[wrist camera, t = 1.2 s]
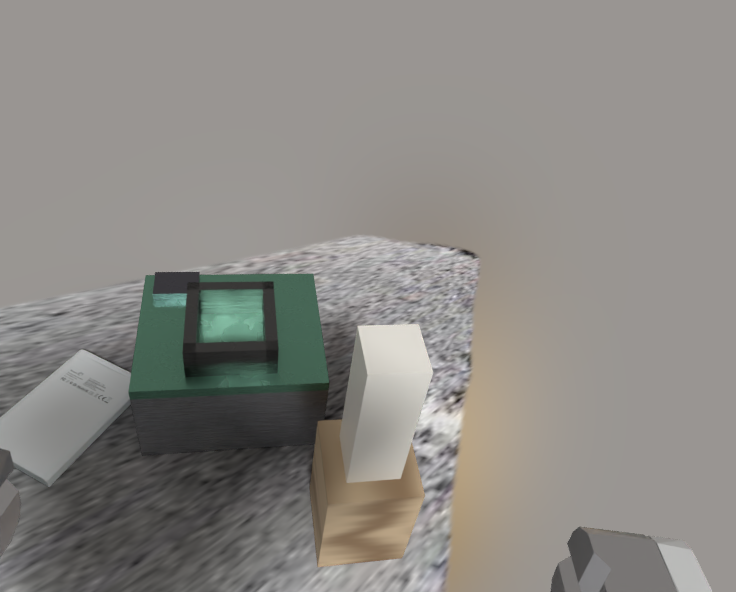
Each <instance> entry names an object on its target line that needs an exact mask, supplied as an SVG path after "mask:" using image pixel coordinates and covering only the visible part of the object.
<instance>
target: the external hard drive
mask: <svg viewBox="0 0 736 592" xmlns="http://www.w3.org/2000/svg"><path fill="white" fill-rule="evenodd" d="M130 378H131V373H130V372H128V371H126V370H124V369H122V368H120V367H118V366H116V365H114V364H112V363H110V362H108V361H106V360H104V359H102V358H100V357H98V356H96V355H94V354H92V353H90V352H88V351H86V350H82V349H81V350H80V351H78V352H77V353H76V354H75V355H74V356H73V357H71V358H70V359H69V360H68V361H67V362H65V363H64V364H63V365H62V366H61V367H59V368H58V369H57V370H56V371H55V372H53V373H52V374H51V375H50V376H49V377H47V378H46V379H45V380H44V381H43V382H42V383H40V384H39V385H38V386H37V387H36V388H34V389H33V390H32V391H31V392H30V393H29V394H27V395H26V396H25V397H24V398H23V399H21V400H20V401H19V402H18V403H17V404H15V405H14V406H13V407H12V408H11V409H9V410H8V411H7V412H6V413H5V414H4V415H2V416H1V417H0V448H1V449H5V450H8V451H10V453H11V457H12V461H13V465H14V467H15V468H16V469H18V470H20V471H22V472H23V473H25V474H27V475H29V476H31V477H32V478H34V479H36V480H38V481H39V482H41V483H43V484H45V485H46V486H48V487H50V486H51V485H52V484H53V483H54V482H55V481H56V480H57V479H58V478H59V477H60V476H61V475H62V474H63V473H64V472H65V471H66V470H67V469H68V468H69V467H70V466H71V464H72V463H73V462H74V461H75V460H76V459H77V458H78V457H79V456H80V455H81V454H82V453H83V452H84V451H85V450H86V449H87V448H88V447H89V446H90V445H91V444H92V443H93V442H94V441H95V440H96V439H97V438H98V437H99V436H100V435H101V434H102V433H103V432H104V431H105V430H106V429H107V428H108V427H109V426H110V425H111V424H112V423H113V422H114V421H115V420H116V419H117V418H118V417H119V416H120V415H121V414H122V413H123V412H124V411H125V410H126V409H127V408H128V407H129V406H130V405H131V402H130V397H129V393H128V391H129V384H130Z"/></svg>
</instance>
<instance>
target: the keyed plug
mask: <svg viewBox="0 0 736 592" xmlns="http://www.w3.org/2000/svg"><path fill="white" fill-rule="evenodd" d="M432 374H433V370H432V367H431V363H430V360H429V357H428V354H427V350H426V347H425V344H424V341H423V337H422V334H421V331H420V327H419V324H410V325H373V326H357V333H356V339H355V345H354V351H353V357H352V363H351V369H350V375H349V381H348V387H347V393H346V399H345V405H344V411H343V417H342V423H341V429H340V435H339V437H340V443H341V450H342V457H343V463H344V470H345V477H346V483H354V482H366V481H379V480H392V479H401V476H402V472H403V469H404V466H405V463H406V459H407V456H408V453H409V450H410V446H411V443H412V440H413V436H414V433H415V430H416V427H417V423H418V420H419V417H420V414H421V410H422V407H423V404H424V400H425V397H426V394H427V391H428V387H429V384H430V381H431V377H432Z"/></svg>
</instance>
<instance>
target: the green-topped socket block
mask: <svg viewBox="0 0 736 592" xmlns="http://www.w3.org/2000/svg"><path fill="white" fill-rule="evenodd" d="M328 388H329V378H328V371H327V364H326V357H325V351H324V344H323V337H322V330H321V323H320V317H319V310H318V303H317V296H316V289H315V283H314V276H313V274H239V275H200V273H199V272H156V273H155V275H146V277H145V284H144V290H143V297H142V304H141V311H140V317H139V324H138V331H137V337H136V344H135V351H134V357H133V364H132V371H131V378H130V384H129V391H128V393H129V397H130V402H131V407H132V411H133V416H134V421H135V425H136V430H137V435H138V439H139V444H140V449H141V453H142V455H156V454H172V453H187V452H202V451H217V450H232V449H247V448H263V447H278V446H293V445H308V444H315V440H316V432H317V423H318V421H323V420H324V418H325V411H326V403H327V396H328Z"/></svg>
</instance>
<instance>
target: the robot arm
mask: <svg viewBox="0 0 736 592" xmlns="http://www.w3.org/2000/svg"><path fill="white" fill-rule="evenodd" d="M13 469H14V465H13V461H12V457H11V453H10V451H8V450H5V449H1V448H0V558H1V556H2V555H3V553H4V552H5V550H6V548H7V547H8V545H9V544H10V542H11V540H12V538H13V536H14V533H15V530H16V527H17V524H18V522H19V519H20V509H21V500H20V494H19V490H18V489H17V488H16V487H15V486H14V485H13V484H12V483H11V482H10V481H9V480H7V478H8V476H9V475H10V473H11V472H12V471H13ZM567 544H568V547H569V551H570V554H571V556H570V557H568V558H566V559H565V560H563V561H561V562H559V563H558V565H557V567H556V570H555V572H554V575H553V577H552V584H551V592H712V589H711V587H710V585H709V584H708V581H707V579H706V577H705V575H704V573H703V571H702V569H701V567H700V565H699V563H698V562H697V559H696V557H695V555H694V553H693V551H692V549H691V548H690V546H689V545H688V544H687V543H686V542H685V541H684V540H678V539H670V538H663V537H655V536H645V535H643V534H635V533H626V532H619V531H611V530H603V529H594V528H587V527H578V528H577V529H576V530H575V531H573V533H572V535H571V537H570V539H569V541H568V543H567Z"/></svg>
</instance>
